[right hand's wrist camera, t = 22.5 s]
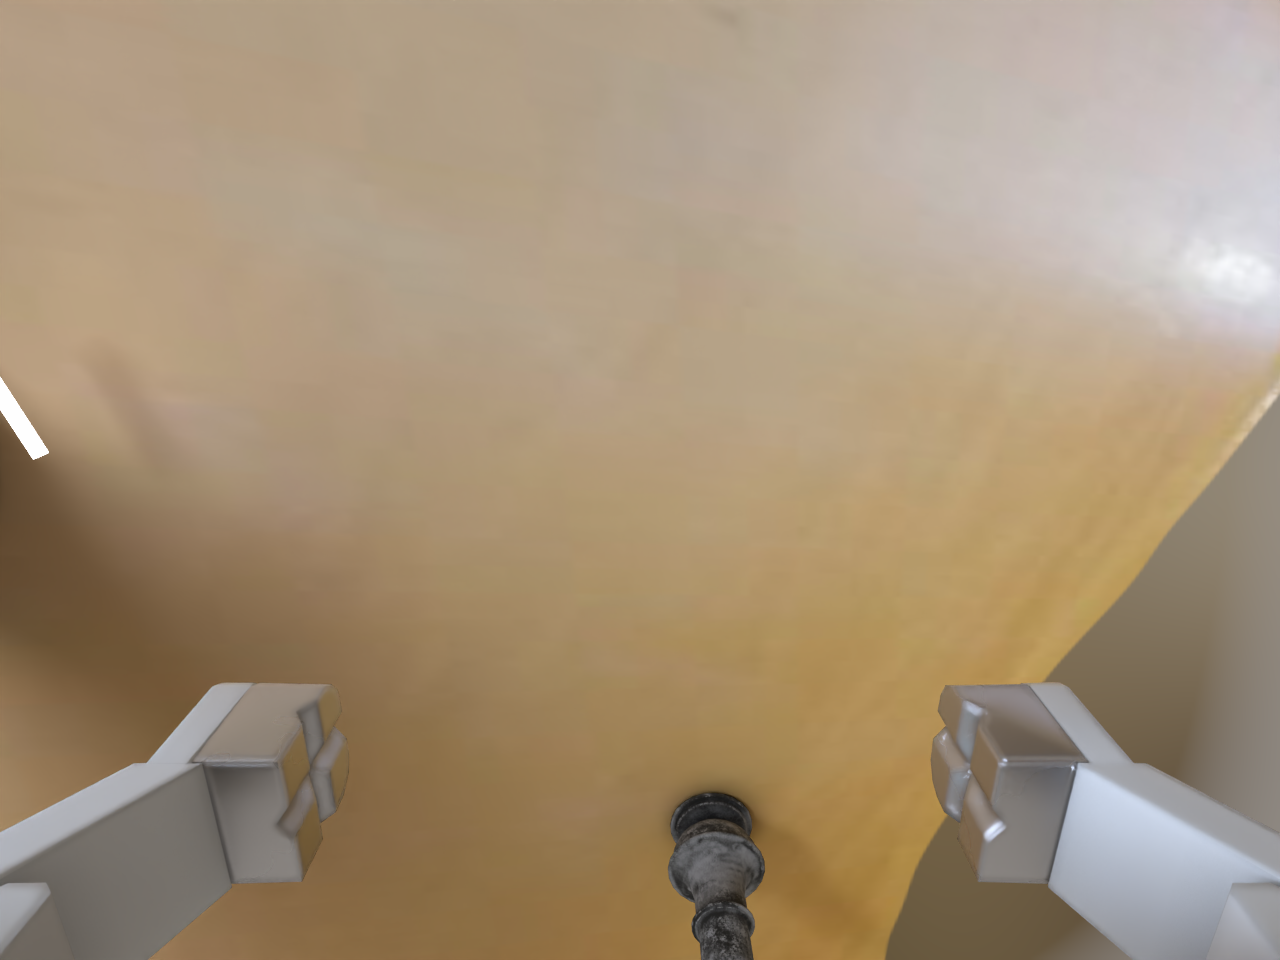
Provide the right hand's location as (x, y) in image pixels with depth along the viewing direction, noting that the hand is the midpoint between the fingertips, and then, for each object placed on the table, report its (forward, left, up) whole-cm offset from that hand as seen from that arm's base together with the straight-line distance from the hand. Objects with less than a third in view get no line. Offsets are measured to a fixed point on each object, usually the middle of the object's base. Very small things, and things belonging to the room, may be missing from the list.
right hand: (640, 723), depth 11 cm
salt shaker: (+29, -14, -31) cm, 45 cm away
